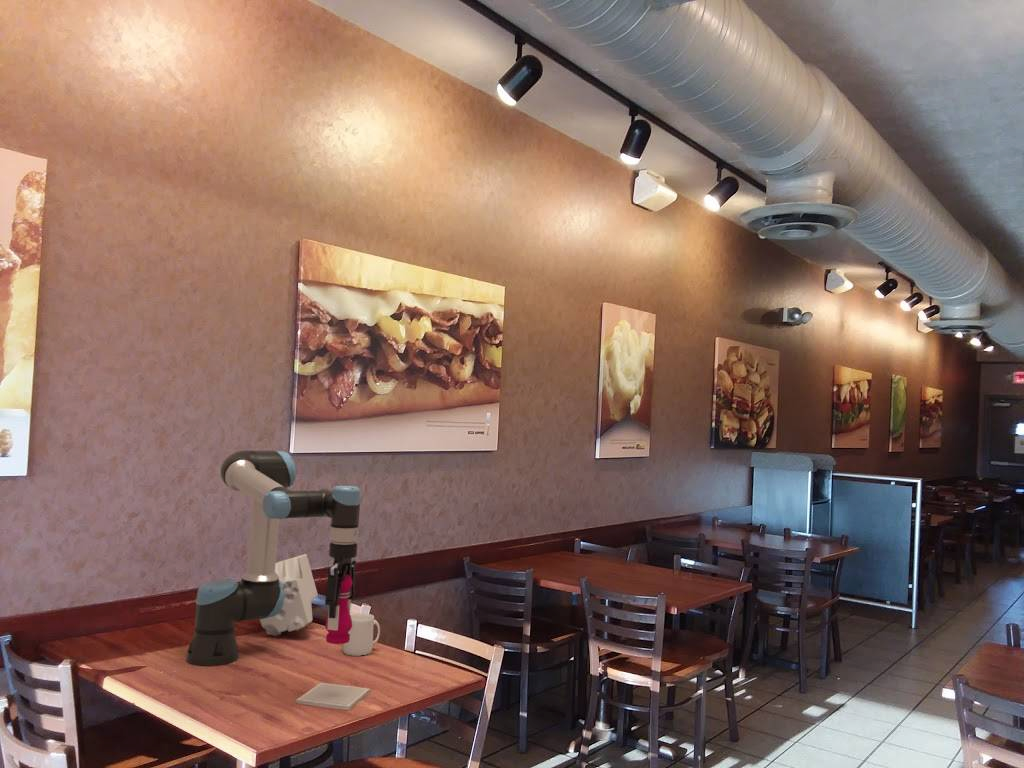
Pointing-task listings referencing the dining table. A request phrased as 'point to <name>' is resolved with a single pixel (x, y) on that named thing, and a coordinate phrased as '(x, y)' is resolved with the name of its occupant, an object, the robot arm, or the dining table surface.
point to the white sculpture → (293, 596)
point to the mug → (361, 635)
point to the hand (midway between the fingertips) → (338, 626)
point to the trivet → (333, 696)
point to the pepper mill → (342, 616)
